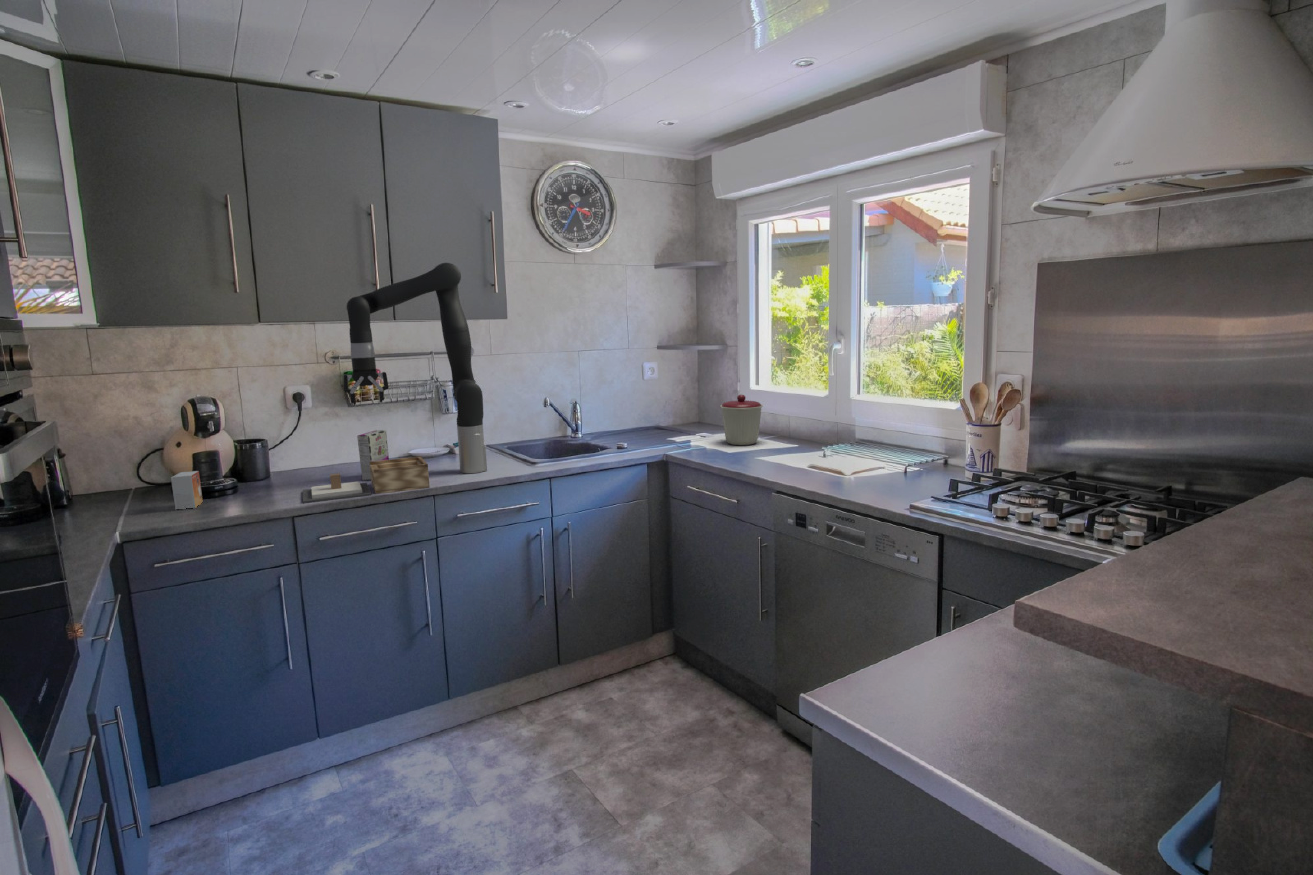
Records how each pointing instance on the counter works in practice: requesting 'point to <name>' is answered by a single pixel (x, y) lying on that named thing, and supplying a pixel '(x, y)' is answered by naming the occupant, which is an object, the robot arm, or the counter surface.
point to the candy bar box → (372, 450)
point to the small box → (186, 490)
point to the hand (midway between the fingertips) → (367, 403)
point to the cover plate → (336, 488)
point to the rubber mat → (308, 496)
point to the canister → (741, 421)
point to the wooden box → (399, 474)
